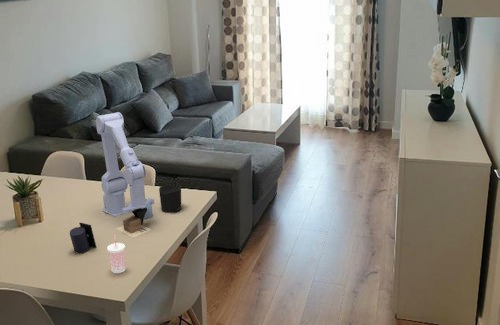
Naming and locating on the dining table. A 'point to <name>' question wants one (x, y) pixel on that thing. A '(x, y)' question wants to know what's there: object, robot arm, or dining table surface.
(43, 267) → the dining table surface
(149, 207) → the slate cylinder
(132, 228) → the walnut block
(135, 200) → the robot arm
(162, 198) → the pen holder
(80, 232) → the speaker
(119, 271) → the beverage cup
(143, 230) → the letter
